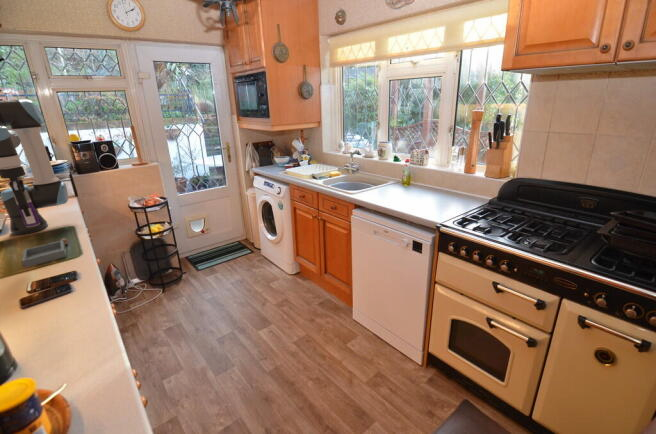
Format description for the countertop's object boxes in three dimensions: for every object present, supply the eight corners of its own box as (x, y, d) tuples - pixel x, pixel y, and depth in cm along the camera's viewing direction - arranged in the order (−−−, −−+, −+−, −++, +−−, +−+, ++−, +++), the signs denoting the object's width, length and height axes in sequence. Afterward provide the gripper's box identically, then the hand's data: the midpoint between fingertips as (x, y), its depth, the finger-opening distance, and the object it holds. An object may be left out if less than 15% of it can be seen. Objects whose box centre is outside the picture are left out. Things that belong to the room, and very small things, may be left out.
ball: (60, 244, 157) (58, 238, 156) (69, 242, 159) (66, 236, 158) (60, 246, 155) (58, 240, 154) (69, 244, 157) (67, 238, 156)
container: (32, 227, 138) (18, 193, 133) (23, 227, 139) (8, 193, 134) (43, 223, 142) (29, 189, 137) (34, 223, 143) (21, 189, 138)
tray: (26, 255, 148) (23, 249, 147) (65, 246, 156) (62, 240, 154) (24, 267, 137) (21, 261, 136) (66, 256, 145) (63, 250, 144)
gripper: (-1, 165, 136) (21, 218, 145) (-6, 172, 123) (18, 229, 131) (23, 162, 140) (43, 214, 149) (20, 168, 127) (42, 224, 136)
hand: (31, 221), depth 140 cm, fingers closed on container, 5 cm apart
